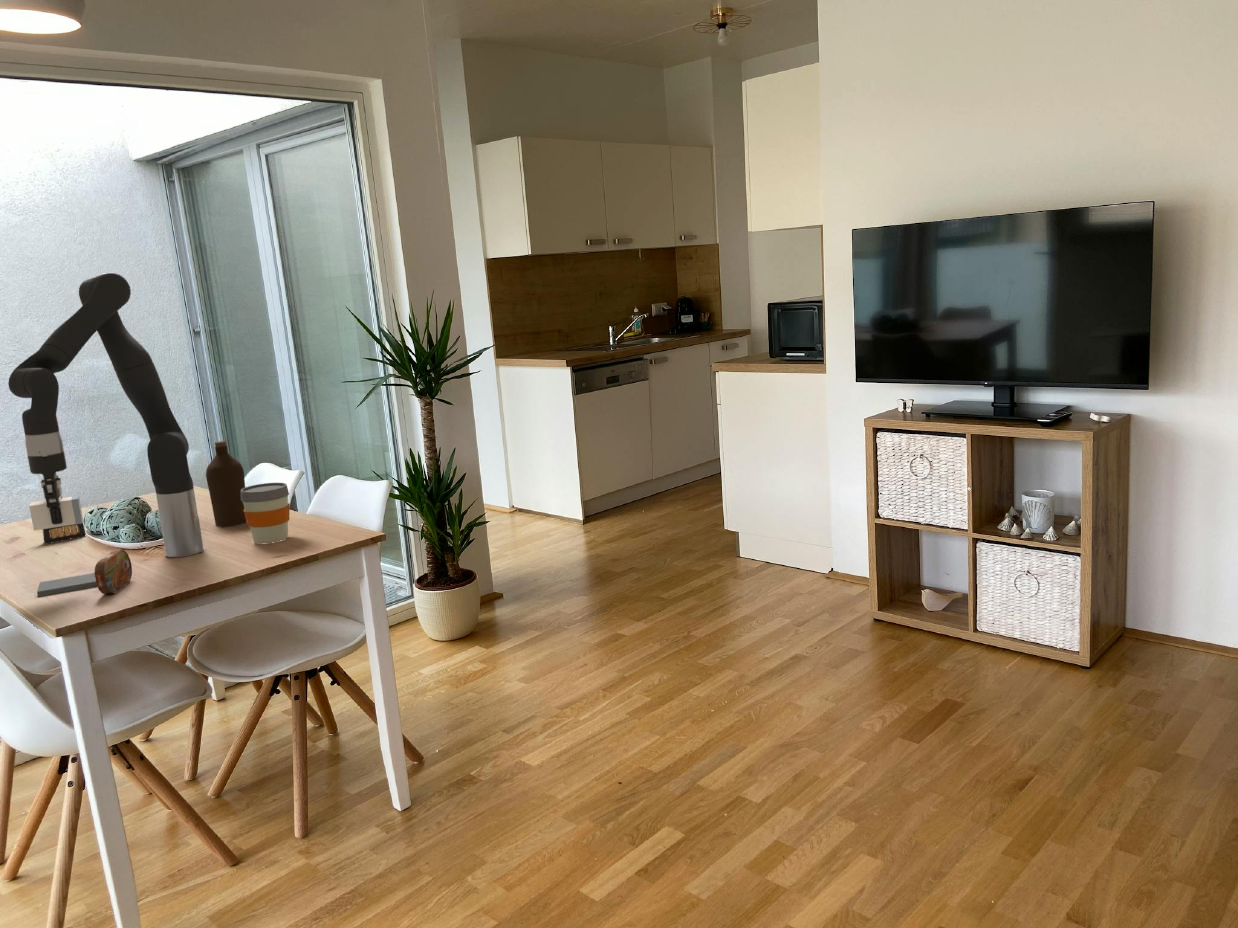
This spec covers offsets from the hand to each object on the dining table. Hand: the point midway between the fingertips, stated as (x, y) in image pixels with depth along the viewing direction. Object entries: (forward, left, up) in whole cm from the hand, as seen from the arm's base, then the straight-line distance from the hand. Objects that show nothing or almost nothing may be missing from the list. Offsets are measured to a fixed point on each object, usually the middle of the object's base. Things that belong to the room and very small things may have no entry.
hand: (58, 521), depth 227 cm
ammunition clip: (+3, -57, -17) cm, 60 cm away
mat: (0, 0, -16) cm, 16 cm away
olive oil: (-42, -43, -17) cm, 62 cm away
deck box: (0, 0, -1) cm, 1 cm away
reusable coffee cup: (-49, -12, -17) cm, 53 cm away
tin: (-10, +10, -17) cm, 22 cm away
